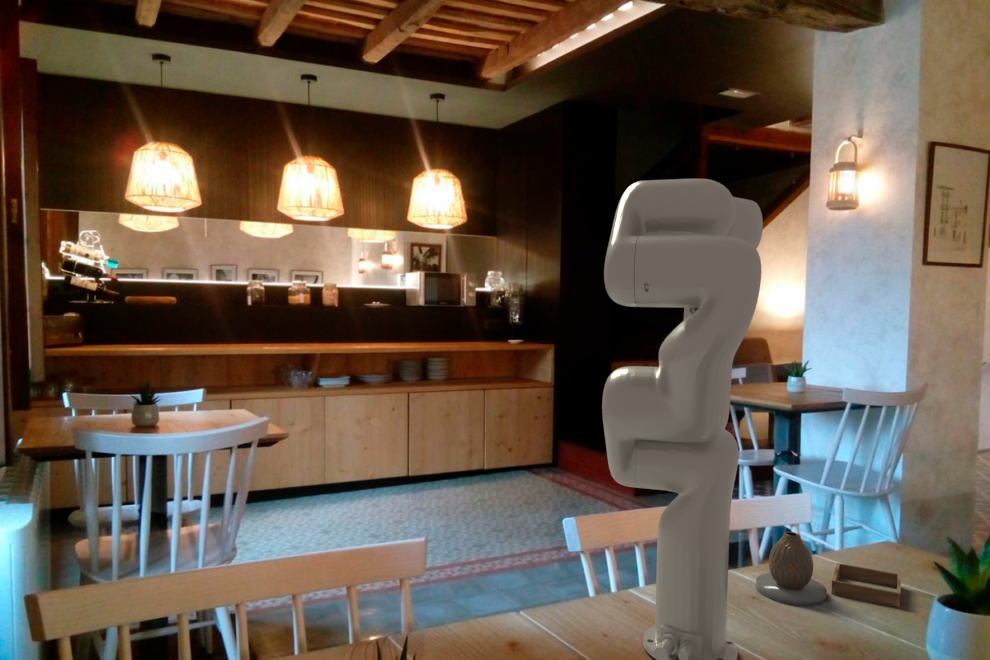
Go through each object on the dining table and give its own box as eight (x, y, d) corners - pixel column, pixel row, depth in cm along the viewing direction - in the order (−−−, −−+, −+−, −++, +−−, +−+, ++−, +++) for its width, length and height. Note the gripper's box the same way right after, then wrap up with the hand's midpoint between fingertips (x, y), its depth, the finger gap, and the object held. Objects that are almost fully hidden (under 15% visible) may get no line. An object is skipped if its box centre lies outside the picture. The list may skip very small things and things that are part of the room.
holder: (899, 607, 113) (900, 594, 113) (831, 593, 118) (831, 580, 118) (900, 586, 122) (900, 574, 122) (836, 574, 127) (837, 562, 127)
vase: (817, 595, 115) (819, 542, 114) (772, 591, 116) (774, 538, 116) (807, 579, 121) (808, 529, 121) (765, 575, 123) (766, 525, 122)
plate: (822, 611, 111) (823, 603, 111) (750, 595, 117) (750, 588, 117) (829, 588, 121) (829, 581, 121) (762, 574, 126) (762, 568, 126)
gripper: (713, 284, 112) (710, 391, 113) (736, 288, 127) (733, 382, 127) (667, 284, 116) (664, 388, 116) (694, 288, 131) (692, 380, 131)
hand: (700, 385), depth 122 cm, fingers open, 9 cm apart
